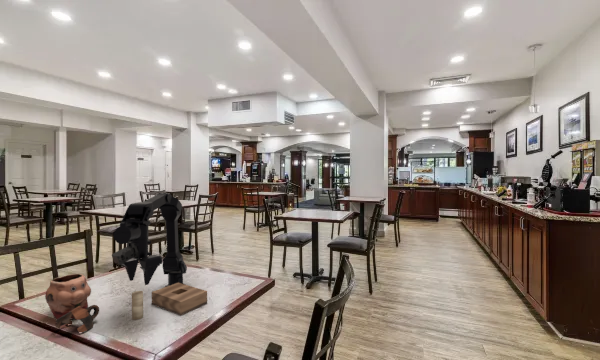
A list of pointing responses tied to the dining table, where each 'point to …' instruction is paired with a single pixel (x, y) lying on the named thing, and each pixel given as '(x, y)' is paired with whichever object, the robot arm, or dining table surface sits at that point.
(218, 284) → the dining table surface
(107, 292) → the dining table surface
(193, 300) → the walnut socket block
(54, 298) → the decorative planter
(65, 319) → the pottery mug
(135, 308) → the maple dowel
